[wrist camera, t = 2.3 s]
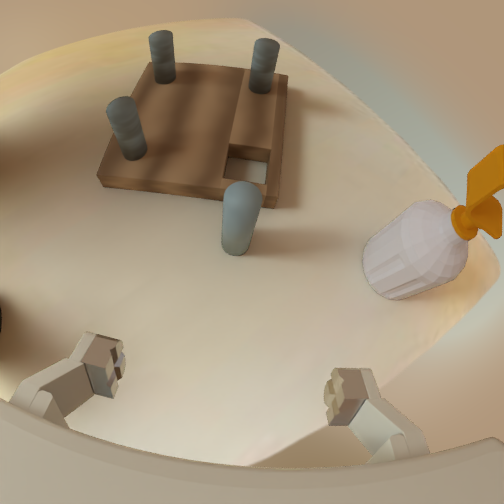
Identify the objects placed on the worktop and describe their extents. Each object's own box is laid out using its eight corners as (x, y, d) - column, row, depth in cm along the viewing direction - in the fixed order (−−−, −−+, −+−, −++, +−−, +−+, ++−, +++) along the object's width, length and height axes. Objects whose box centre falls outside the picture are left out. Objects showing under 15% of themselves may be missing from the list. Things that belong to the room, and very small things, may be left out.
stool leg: (219, 253, 35) (220, 212, 25) (223, 227, 36) (226, 178, 26) (247, 257, 36) (260, 218, 25) (250, 231, 37) (264, 184, 26)
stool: (103, 186, 36) (73, 135, 26) (151, 75, 43) (143, 22, 33) (273, 208, 38) (293, 157, 27) (284, 88, 45) (298, 35, 34)
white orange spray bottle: (409, 311, 36) (573, 253, 12) (351, 281, 36) (506, 182, 13) (424, 251, 39) (559, 164, 15) (371, 221, 39) (494, 99, 16)
